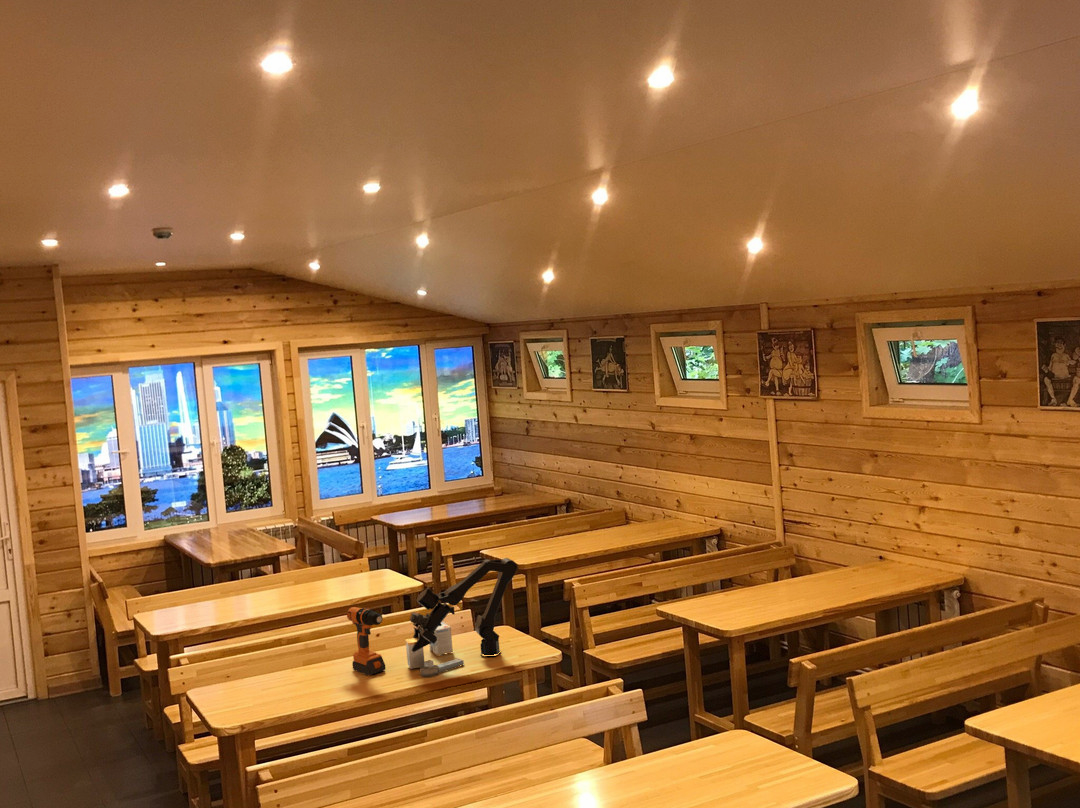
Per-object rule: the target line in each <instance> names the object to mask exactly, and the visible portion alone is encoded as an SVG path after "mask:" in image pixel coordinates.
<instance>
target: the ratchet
mask: <svg viewBox="0 0 1080 808" xmlns="http://www.w3.org/2000/svg"><path fill="white" fill-rule="evenodd" d="M424 661H425V662H424V665H425V666H423V667H419V668H420V669H419V670H420V677H422V678H434V677H436V676H439V674H441V673H443V672H444V673H445V672H447V671H446V670H448V671H450V670H449V669H451V670H453V669H452V668H454V669H456V668H455V667H457V668H459V667H458V666H460V665H463V664H464V665H465V663H464V662H465V661H464V659H462V658H461V659H460V658H455V659H452V660H449V661H446V662H442V663H439V664H435V663H434V660H431V659H428V660H424ZM464 665H463V666H464ZM460 667H461V666H460Z"/></svg>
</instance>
